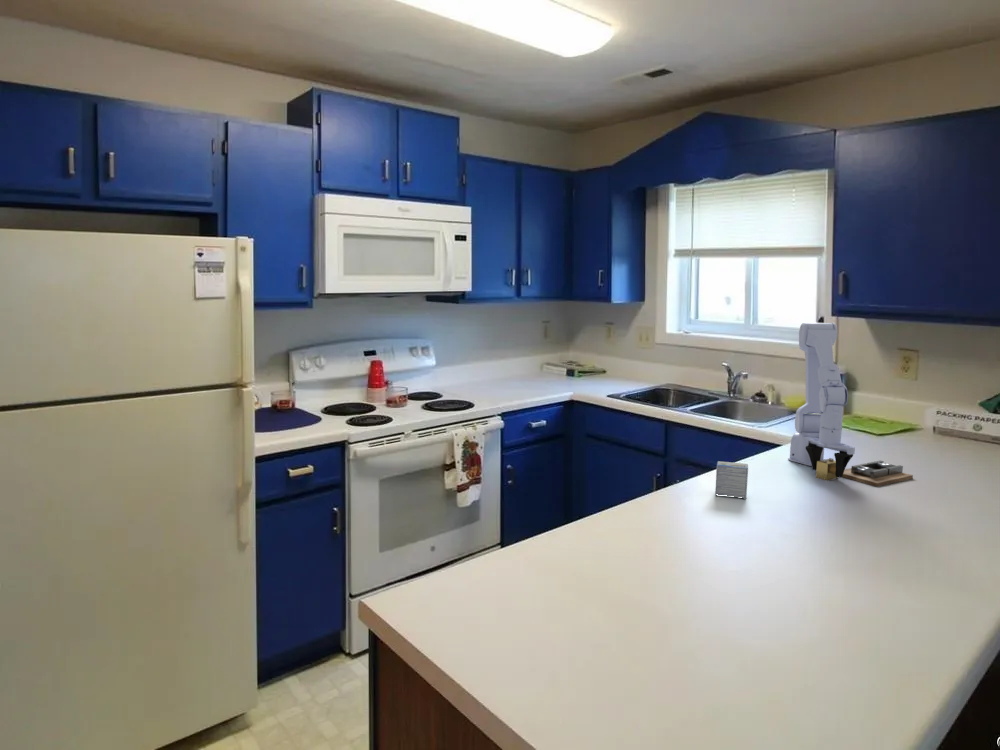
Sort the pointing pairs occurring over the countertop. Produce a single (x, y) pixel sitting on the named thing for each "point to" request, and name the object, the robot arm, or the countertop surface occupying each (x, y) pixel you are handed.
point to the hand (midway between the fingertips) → (827, 473)
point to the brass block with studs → (826, 469)
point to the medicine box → (731, 479)
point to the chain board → (876, 481)
